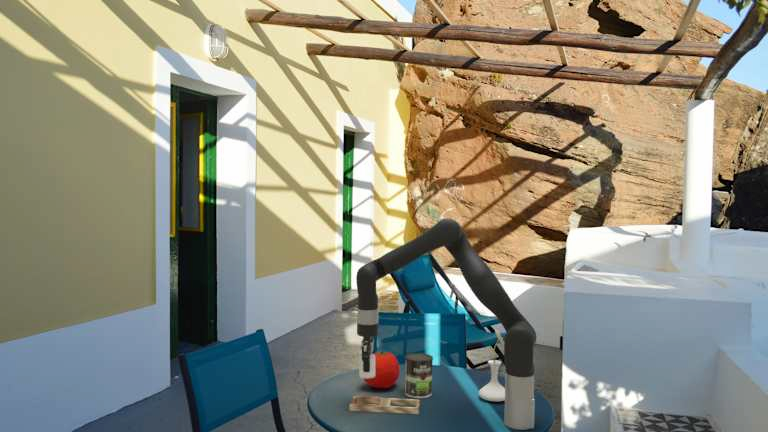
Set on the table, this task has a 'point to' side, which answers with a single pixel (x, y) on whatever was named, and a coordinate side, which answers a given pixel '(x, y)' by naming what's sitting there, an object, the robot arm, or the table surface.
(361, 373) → the eye dropper bottle
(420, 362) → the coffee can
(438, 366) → the table surface
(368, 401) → the rail
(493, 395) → the flower in vase
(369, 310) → the robot arm
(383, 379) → the tomato
